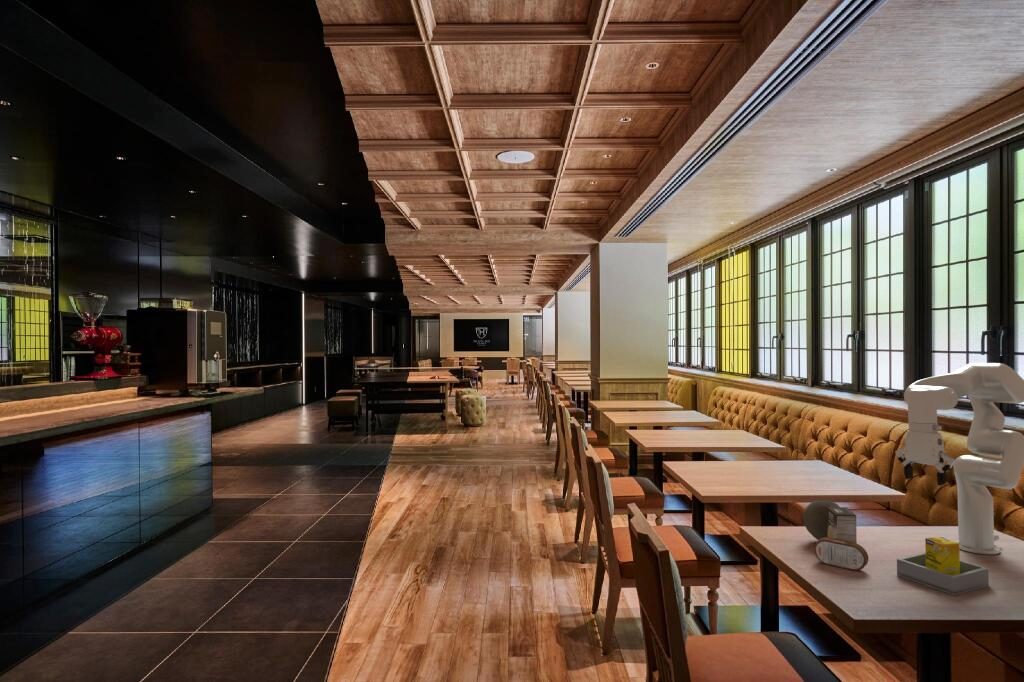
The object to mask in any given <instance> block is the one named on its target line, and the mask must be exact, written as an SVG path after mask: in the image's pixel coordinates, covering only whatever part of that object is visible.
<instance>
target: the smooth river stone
mask: <svg viewBox="0 0 1024 682" xmlns="http://www.w3.org/2000/svg"><path fill="white" fill-rule="evenodd" d="M827 507H841V506H840V505H839V504H837V502H834V501H831V500H826V499H825V500H823V499H821V500H814V501H812V502H810V503H809V504H808V505H806V507H805V509H804V510H803V512H802V520H803V524H804V527H805V529H806V531H807V532H808V533H809V534H810V535H811V536H812V537H813V538H814V539H816V540H817V541H818V540H819V539H821V538H823V537H828V527H827Z"/></svg>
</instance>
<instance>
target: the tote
mask: <svg viewBox="0 0 1024 682" xmlns="http://www.w3.org/2000/svg"><path fill="white" fill-rule="evenodd" d="M897 575H898V577H900V576H901V577H900V578H902V579H903V578H904V579H906V580H909V581H911V580H912V581H911V582H914V581H915V582H916V583H917V582H918V583H917V584H920V583H921V584H920V585H923V584H924V585H923V586H926V585H927V586H926V587H928V586H930V587H929V588H931V587H932V589H934V588H935V589H934V590H937V589H938V591H940V590H941V591H940V592H943V593H945V592H946V594H948V593H949V595H951V594H952V596H954V595H955V596H957V595H958V594H959V595H963V594H965V592H966V593H969V592H972V591H975V590H976V591H977V590H979V589H982V588H986V587H989V585H990V582H989V581H990V580H989V577H990V576H989V568H988V567H985V566H983V565H982V566H981V565H979V564H975V563H971V562H969V561H966V560H962V559H960V574H957V575H954V576H951V575H948V574H945V573H942V572H939V571H936V570H933V569H930V568H927V567H926V551H925V552H921V553H917V554H912V555H908V556H904V557H899V558H897V559H896V576H897ZM915 582H914V583H915Z"/></svg>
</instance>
